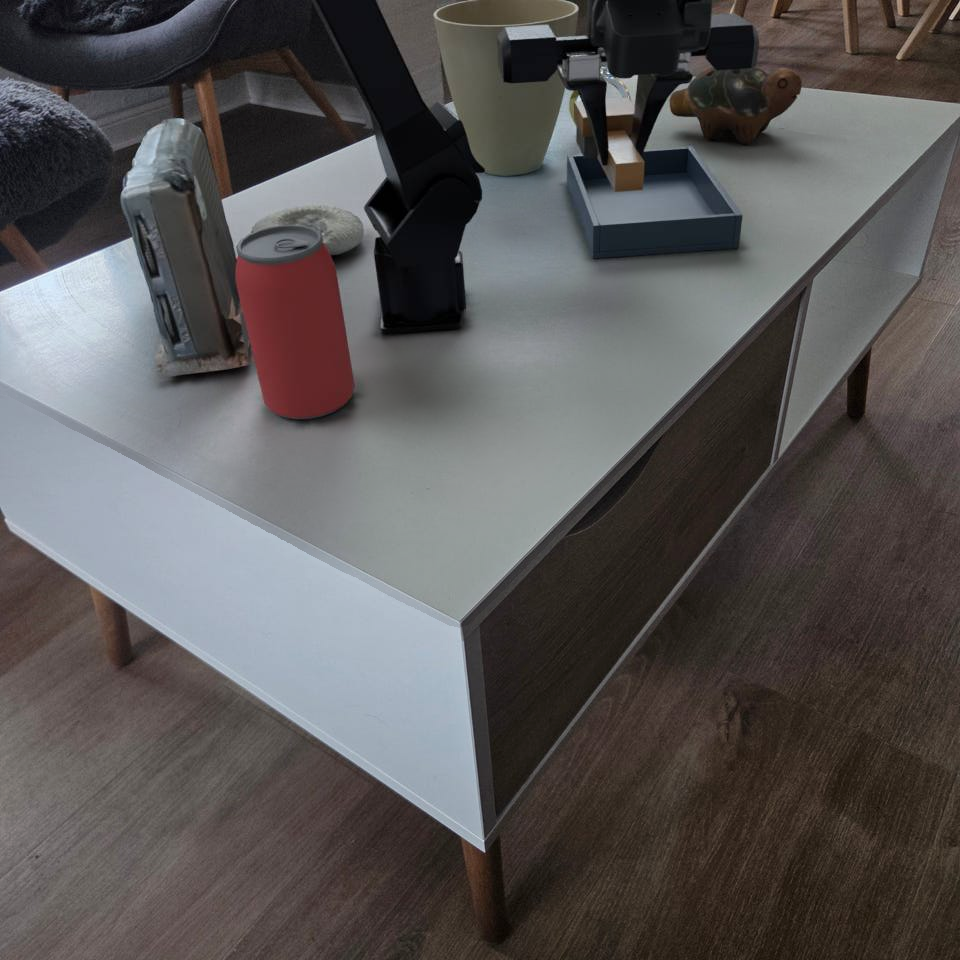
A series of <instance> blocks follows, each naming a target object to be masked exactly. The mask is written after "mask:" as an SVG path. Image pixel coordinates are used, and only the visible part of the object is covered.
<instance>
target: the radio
mask: <svg viewBox="0 0 960 960" xmlns="http://www.w3.org/2000/svg"><path fill="white" fill-rule="evenodd" d="M205 135H206V134H205V133H204V131H203V129H201V127H199V126H197V125H195V124H194V123H192V122H190V121H189V120H187V119H184V118H179V117H178V118H177V117H176V118H166V117H164V118H163V119H162V121H161V122H160V123H158V124H157V125H155V126H153V127H152V128H150V129H149V130H147V132H146V134H145V135H144V137H143V138H142V141H141V142H140V146H139V147H138V149H137V151H136V153H135V156H134V158H133V159H132V161H131V164H132V167H131V169H130V170H129V171H127V172H126V173H125V175H124V177H123V179H122V191H121V193H120V206H121V209H122V213H123V216H124V217H125V218H126V221H127V224H128V228H129V230H130V234H131V237H132V242H133V244H134V248H135V251H136V255H137V256H136V257H137V259H138V262H139V265H140V268H141V270H142V274H143V275H144V279H145V282H146V285H147V288H148V291H149V295H150V301H151V304H152V307H153V313H154V317H155V322H156V325H157V328H158V331H159V337H160V338H159V340H158V341H159V342H158V345H157V348H156V349H155V355H154V356H155V366H156V367H155V368H156V370H157V372H158V374H159V377H160V378H161V379H163V378H172V377H176V376H182V375H192V374H198V373H199V374H200V373H209V372H215V371H224V370H231V369H237V368H240V367H246V366H250V361H251V354H252V349H251V345H250V340H249V336H248V332H247V328H246V323H245V319H244V315H243V311H242V306H241V302H240V298H239V293H238V289H237V285H236V263H237V255H236V250H235V247H234V241H233V238H232V234H231V231H230V226H229V224H228V222H227V218H226V214H225V209H224V204H223V200H222V196H221V194H220V191H219V190H220V189H219V185H218V182H217V179H216V175H215V171H214V168H213V163H212V160H211V156H210V152H209V149H208V144H207V140H206V136H205Z"/></svg>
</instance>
